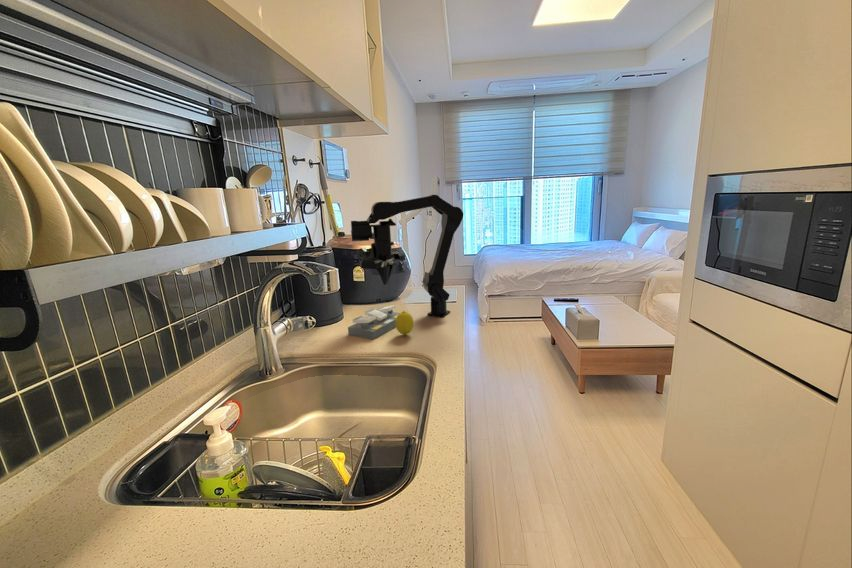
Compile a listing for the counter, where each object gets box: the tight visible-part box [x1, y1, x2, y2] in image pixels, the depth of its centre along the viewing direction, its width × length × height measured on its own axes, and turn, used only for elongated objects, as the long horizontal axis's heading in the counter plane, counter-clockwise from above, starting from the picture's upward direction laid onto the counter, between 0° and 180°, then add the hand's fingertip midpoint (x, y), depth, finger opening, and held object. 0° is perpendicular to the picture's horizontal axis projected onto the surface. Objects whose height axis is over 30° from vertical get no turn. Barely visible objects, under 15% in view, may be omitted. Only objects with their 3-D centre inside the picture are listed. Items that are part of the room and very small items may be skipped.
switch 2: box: [376, 304, 397, 312], centre depth 126 cm, size 4×6×1 cm, turn 61°
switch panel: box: [347, 309, 401, 340], centre depth 121 cm, size 19×10×4 cm, turn 151°
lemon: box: [395, 310, 414, 336], centre depth 113 cm, size 6×6×8 cm
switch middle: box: [363, 307, 387, 321], centre depth 121 cm, size 4×6×1 cm, turn 61°
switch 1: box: [352, 315, 376, 324], centre depth 116 cm, size 4×6×1 cm, turn 61°
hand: (385, 284), depth 126 cm, fingers closed
